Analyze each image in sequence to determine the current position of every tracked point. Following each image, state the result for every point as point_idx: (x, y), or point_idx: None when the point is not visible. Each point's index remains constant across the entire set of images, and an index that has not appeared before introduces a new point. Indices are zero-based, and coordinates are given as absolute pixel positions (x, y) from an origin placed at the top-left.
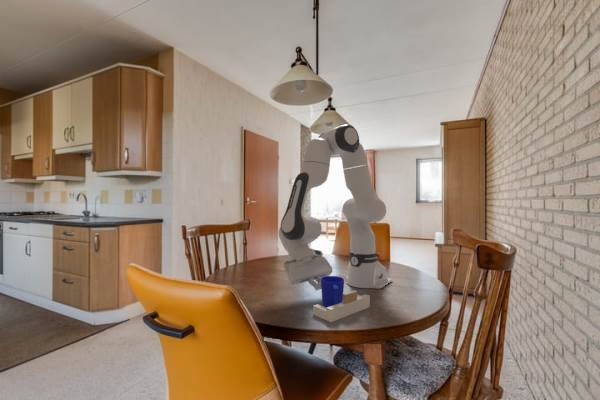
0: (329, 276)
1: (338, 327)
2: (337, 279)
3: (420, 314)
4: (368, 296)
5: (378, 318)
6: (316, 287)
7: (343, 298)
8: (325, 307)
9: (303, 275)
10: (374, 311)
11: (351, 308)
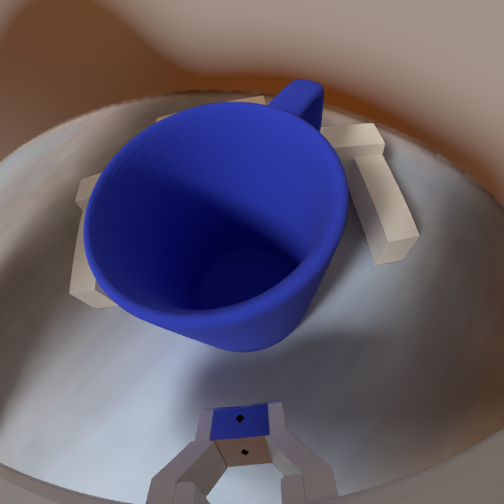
0: (136, 302)
1: None
2: (111, 238)
3: (77, 125)
4: (90, 176)
5: None
6: (285, 422)
7: None
8: (367, 184)
9: (480, 475)
10: None
11: None
